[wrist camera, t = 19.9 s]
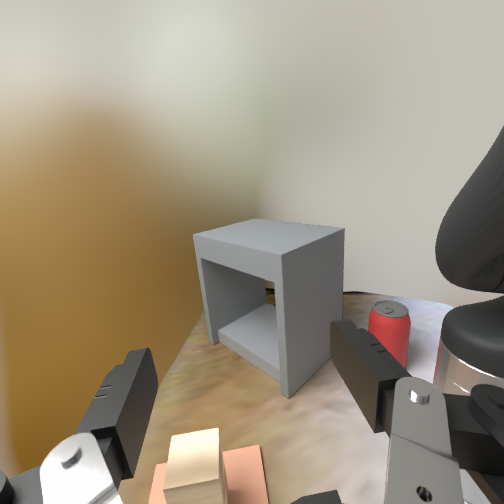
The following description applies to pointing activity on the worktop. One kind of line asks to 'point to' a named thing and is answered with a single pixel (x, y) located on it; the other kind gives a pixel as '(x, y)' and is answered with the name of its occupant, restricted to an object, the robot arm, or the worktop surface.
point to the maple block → (196, 469)
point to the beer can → (391, 327)
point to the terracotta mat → (228, 478)
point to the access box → (286, 294)
